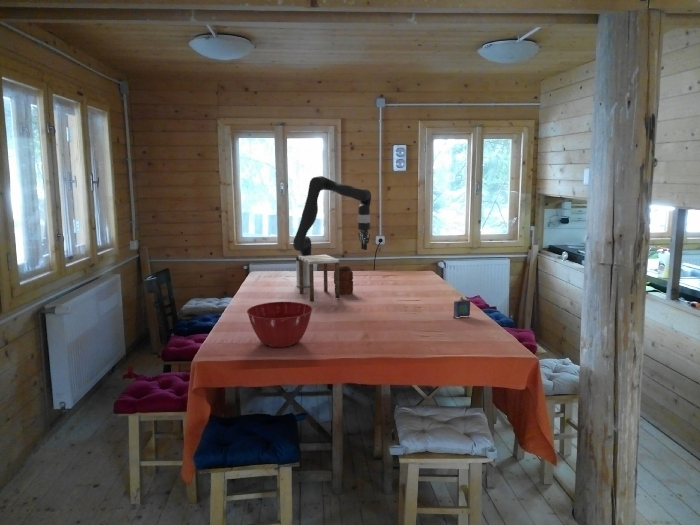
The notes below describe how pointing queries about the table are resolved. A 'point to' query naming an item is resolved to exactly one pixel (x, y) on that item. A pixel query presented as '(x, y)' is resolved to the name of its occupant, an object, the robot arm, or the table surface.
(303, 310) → the mixing bowl
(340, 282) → the wooden figurine
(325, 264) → the stand
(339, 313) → the table surface
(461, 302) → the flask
